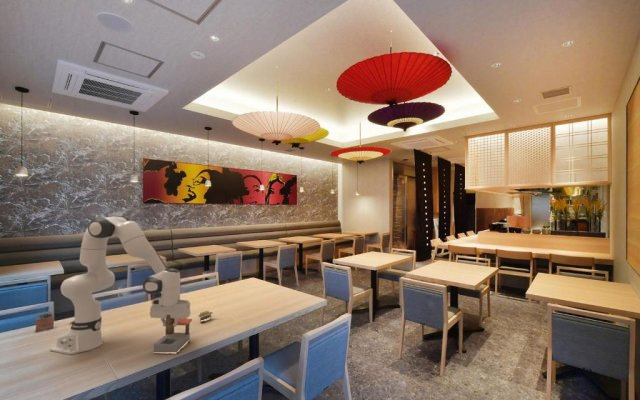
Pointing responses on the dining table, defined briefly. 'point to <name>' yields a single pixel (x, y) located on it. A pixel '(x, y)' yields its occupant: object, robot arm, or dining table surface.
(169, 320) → the walnut peg
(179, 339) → the socket stand
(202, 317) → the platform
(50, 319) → the brick wall piece
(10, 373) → the dining table surface
